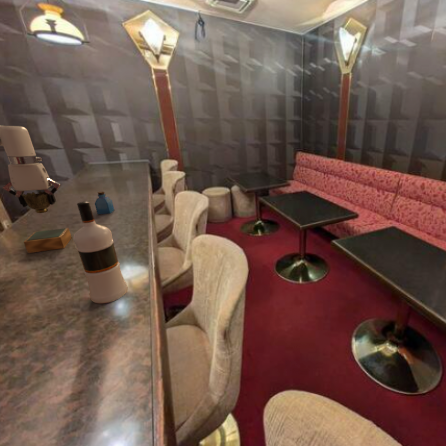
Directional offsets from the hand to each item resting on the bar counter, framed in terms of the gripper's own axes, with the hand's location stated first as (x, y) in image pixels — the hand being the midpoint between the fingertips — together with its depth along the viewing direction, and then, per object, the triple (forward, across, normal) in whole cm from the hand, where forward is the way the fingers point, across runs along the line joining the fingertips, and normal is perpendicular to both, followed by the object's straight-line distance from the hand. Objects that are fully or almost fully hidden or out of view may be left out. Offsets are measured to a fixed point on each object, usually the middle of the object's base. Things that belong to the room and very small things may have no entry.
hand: (39, 204), depth 100 cm
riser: (+17, 0, +2) cm, 18 cm away
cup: (+4, 0, 0) cm, 4 cm away
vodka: (+17, -27, +52) cm, 61 cm away
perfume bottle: (+18, -13, -40) cm, 45 cm away
